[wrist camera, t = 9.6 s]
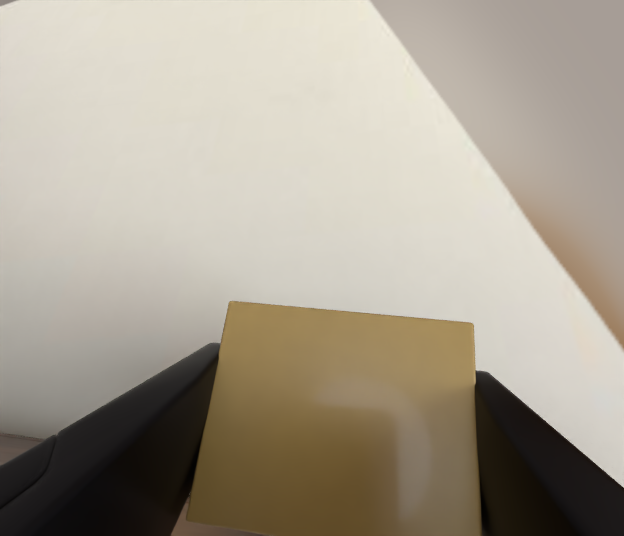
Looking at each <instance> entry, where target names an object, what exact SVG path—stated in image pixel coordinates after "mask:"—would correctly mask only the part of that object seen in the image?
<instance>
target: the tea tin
mask: <svg viewBox="0 0 624 536" xmlns="http://www.w3.org/2000/svg"><path fill="white" fill-rule="evenodd" d="M475 384H476V370H475V344H474V325H473V324H472V323H469V322H458V321H447V320H436V319H425V318H414V317H403V316H392V315H381V314H370V313H359V312H348V311H337V310H326V309H315V308H304V307H293V306H282V305H271V304H260V303H249V302H238V301H230V302H229V305H228V309H227V314H226V319H225V324H224V329H223V334H222V339H221V344H220V349H219V360H218V365H217V370H216V375H215V380H214V385H213V390H212V395H211V400H210V405H209V410H208V414H207V419H206V423H205V427H204V431H203V435H202V439H201V444H200V449H199V454H198V459H197V464H196V469H195V474H194V479H193V484H192V489H191V494H190V499H189V504H188V509H187V514H186V521H188V522H192V523H198V524H204V525H210V526H216V527H222V528H228V529H234V530H240V531H245V532H251V533H257V534H263V535H269V536H482V522H481V496H480V476H479V464H478V453H477V435H476V409H475Z"/></svg>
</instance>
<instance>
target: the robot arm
mask: <svg viewBox="0 0 624 536" xmlns="http://www.w3.org/2000/svg"><path fill="white" fill-rule="evenodd" d="M219 349H220V343H210V344H208V345H206V346H205V347H203V348H201V349H199V350H198V351H196V352H194V353H193V354H191V355H189V356H188V357H186V358H184V359H182V360H181V361H179V362H177V363H176V364H174V365H172V366H171V367H169V368H167V369H165V370H164V371H162V372H160V373H159V374H157V375H155V376H153V377H152V378H150V379H148V380H147V381H145V382H143V383H142V384H140V385H138V386H136V387H135V388H133V389H131V390H130V391H128V392H126V393H125V394H123V395H121V396H119V397H118V398H116V399H114V400H113V401H111V402H109V403H107V404H106V405H104V406H102V407H101V408H99V409H97V410H96V411H94V412H92V413H90V414H89V415H87V416H85V417H84V418H82V419H80V420H78V421H77V422H75V423H73V424H72V425H70V426H68V427H67V428H65V429H63V430H61V431H60V432H59V433H58V435H53V436H51V437H49V438H48V439H46V440H44V441H43V442H41V443H39V444H37V445H36V446H34V447H32V448H31V449H29V450H27V451H25V452H23V453H22V454H20V455H18V456H16V457H15V458H13V459H11V460H9V461H8V462H6V463H4V464H2V465H1V466H0V536H171V534H172V532H173V529H174V527H175V525H176V523H177V521H178V518H179V516H180V514H181V512H182V509H183V507H184V505H185V503H186V501H187V498H188V496H189V494H190V492H191V489H192V484H193V479H194V474H195V469H196V464H197V459H198V454H199V449H200V444H201V439H202V435H203V431H204V427H205V423H206V419H207V414H208V410H209V405H210V400H211V395H212V390H213V385H214V380H215V375H216V370H217V365H218V360H219ZM475 409H476V435H477V453H478V464H479V476H480V496H481V522H482V536H624V488H623V487H622V486H621V485H620V484H618V483H617V482H616V481H615V480H614V479H613V478H611V477H610V476H609V475H608V474H607V473H606V472H604V471H603V470H602V469H601V468H600V467H599V466H597V465H596V464H595V463H594V462H593V461H591V460H590V459H589V458H588V457H587V456H586V455H584V454H583V453H582V452H581V451H580V450H579V449H577V448H576V447H575V446H574V445H573V444H572V443H570V442H569V441H568V440H567V439H566V438H564V437H563V436H562V435H561V434H560V433H559V432H557V431H556V430H555V429H554V428H553V427H552V426H550V425H549V424H548V423H547V422H546V421H545V420H543V419H542V418H541V417H540V416H539V415H538V414H536V413H535V412H534V411H533V410H532V409H530V408H529V407H528V406H527V405H526V404H525V403H523V402H522V401H521V400H520V399H519V398H518V397H516V396H515V395H514V394H513V393H512V392H511V391H509V390H508V389H507V388H506V387H505V386H504V385H502V384H501V383H500V382H499V381H498V380H496V379H495V378H494V377H493V376H492V375H491V374H489V373H488V372H485V371H476V384H475Z"/></svg>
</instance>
